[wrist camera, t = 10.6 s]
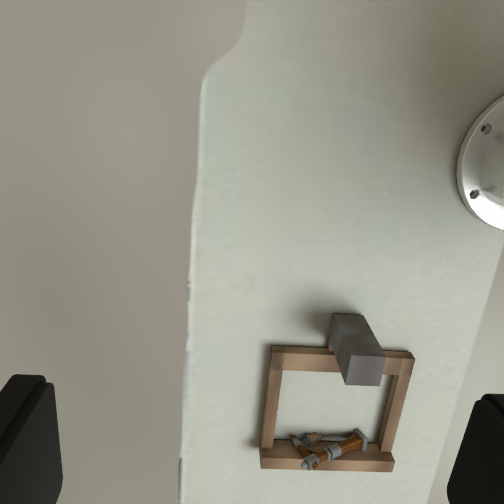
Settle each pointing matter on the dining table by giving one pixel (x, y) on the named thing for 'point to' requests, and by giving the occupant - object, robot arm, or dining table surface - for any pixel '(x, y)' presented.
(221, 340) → the dining table surface
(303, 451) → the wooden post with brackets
